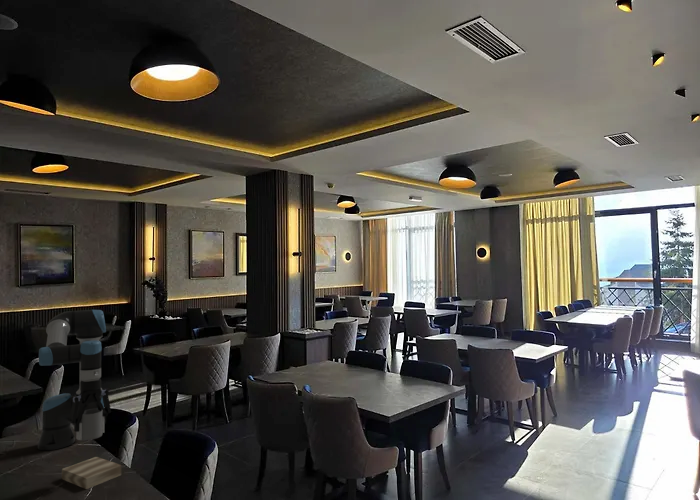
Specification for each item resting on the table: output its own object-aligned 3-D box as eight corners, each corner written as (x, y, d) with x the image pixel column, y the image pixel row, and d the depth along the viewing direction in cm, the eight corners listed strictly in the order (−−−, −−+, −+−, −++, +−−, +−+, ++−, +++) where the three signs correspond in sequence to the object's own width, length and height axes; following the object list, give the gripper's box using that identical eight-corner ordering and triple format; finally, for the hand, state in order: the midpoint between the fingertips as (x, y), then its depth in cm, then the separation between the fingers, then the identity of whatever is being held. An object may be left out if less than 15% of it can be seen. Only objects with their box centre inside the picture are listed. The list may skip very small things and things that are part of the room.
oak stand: (61, 479, 185) (61, 469, 185) (96, 466, 197) (96, 456, 197) (86, 489, 176) (86, 478, 176) (121, 475, 187) (121, 465, 188)
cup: (91, 440, 182) (91, 415, 182) (73, 439, 184) (73, 414, 184) (106, 433, 190) (107, 408, 191) (89, 432, 192) (89, 408, 192)
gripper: (68, 386, 177) (68, 445, 176) (120, 375, 195) (120, 429, 194) (58, 383, 181) (58, 442, 180) (110, 373, 199) (110, 426, 198)
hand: (90, 435), depth 187 cm, fingers closed on cup, 8 cm apart
